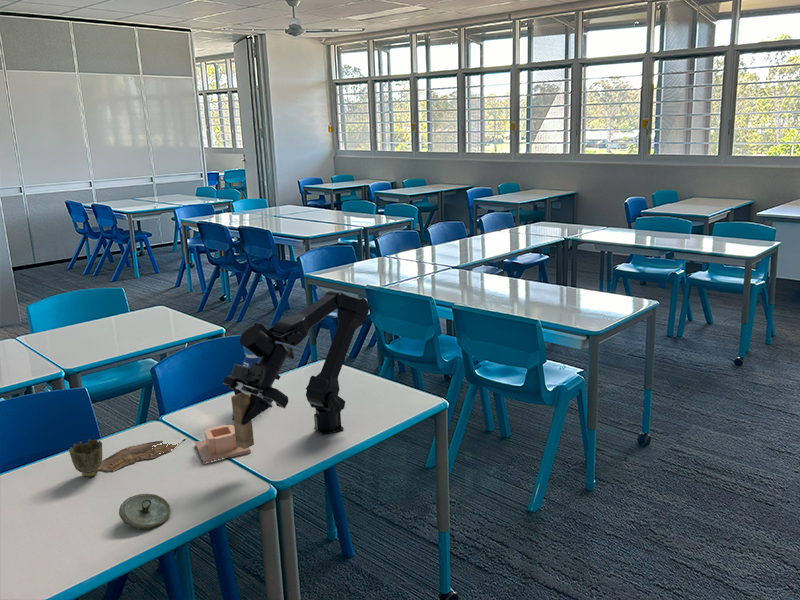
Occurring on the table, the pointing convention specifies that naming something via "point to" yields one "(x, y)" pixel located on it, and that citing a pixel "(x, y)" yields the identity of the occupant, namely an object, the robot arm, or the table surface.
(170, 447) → the wooden fragment
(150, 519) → the lid
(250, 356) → the beverage bottle
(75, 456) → the cup
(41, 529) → the table surface
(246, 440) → the brown wooden block
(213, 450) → the terracotta holder
